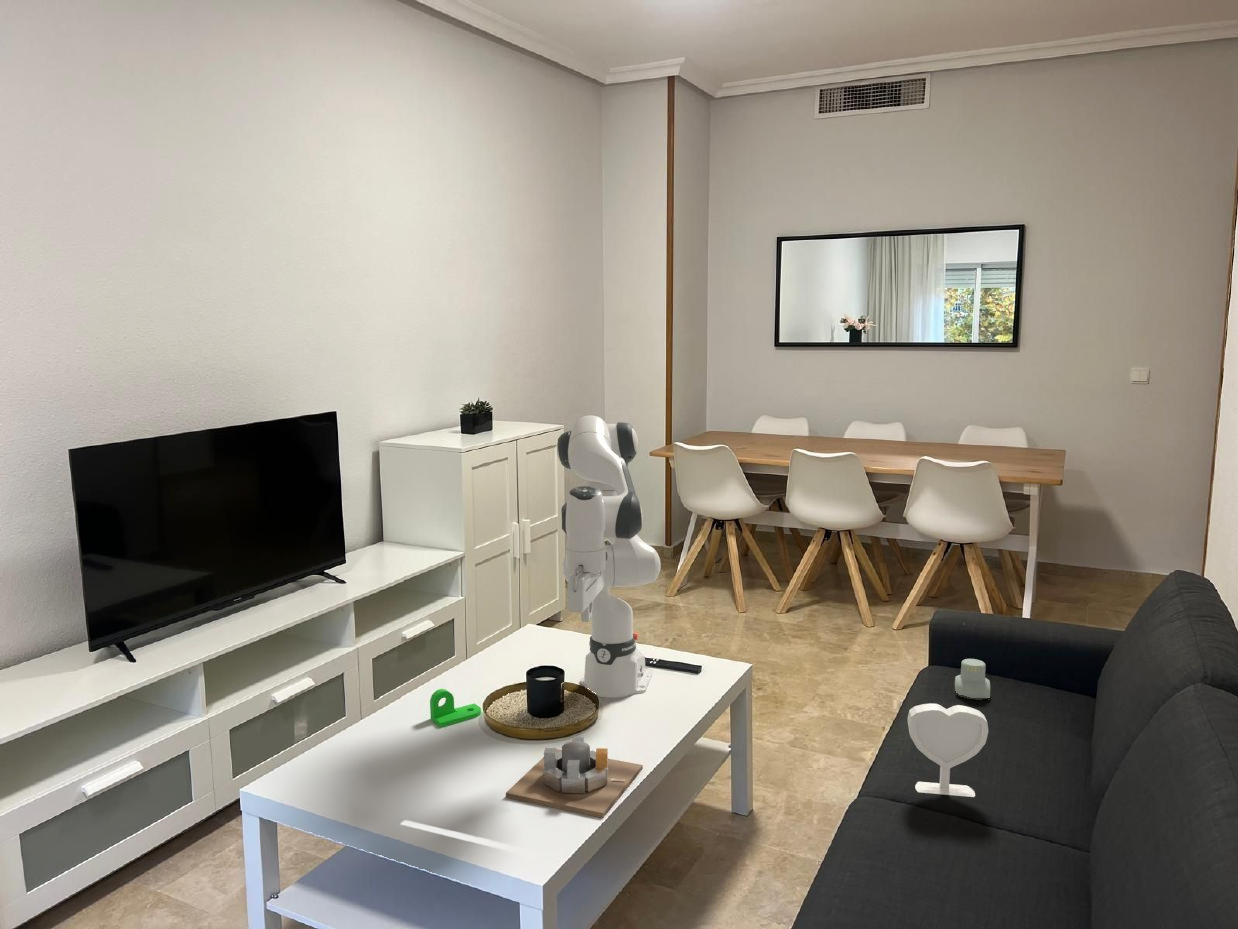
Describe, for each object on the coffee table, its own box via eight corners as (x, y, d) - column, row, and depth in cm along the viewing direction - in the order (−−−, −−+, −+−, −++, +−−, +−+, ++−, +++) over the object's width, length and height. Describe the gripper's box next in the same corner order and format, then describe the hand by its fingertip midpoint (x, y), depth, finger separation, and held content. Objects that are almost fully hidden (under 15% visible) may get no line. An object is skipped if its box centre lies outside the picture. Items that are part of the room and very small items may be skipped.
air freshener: (954, 689, 247) (955, 653, 246) (987, 693, 245) (989, 657, 243) (955, 705, 237) (957, 668, 236) (989, 709, 235) (992, 671, 233)
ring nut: (609, 763, 204) (609, 737, 203) (606, 793, 190) (605, 766, 189) (548, 762, 204) (548, 736, 203) (540, 792, 191) (540, 765, 190)
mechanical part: (440, 730, 224) (439, 699, 223) (430, 722, 229) (429, 691, 228) (485, 718, 231) (484, 688, 230) (474, 710, 236) (473, 680, 234)
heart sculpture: (907, 792, 193) (910, 710, 190) (904, 780, 198) (907, 700, 195) (985, 798, 190) (990, 715, 187) (980, 786, 195) (985, 705, 192)
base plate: (552, 752, 212) (552, 719, 210) (642, 769, 203) (642, 734, 202) (505, 797, 191) (504, 761, 190) (603, 818, 183) (603, 780, 182)
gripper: (588, 572, 195) (588, 635, 197) (609, 550, 215) (610, 607, 217) (559, 571, 197) (560, 633, 199) (583, 549, 216) (584, 606, 218)
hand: (586, 620), depth 208 cm, fingers closed
